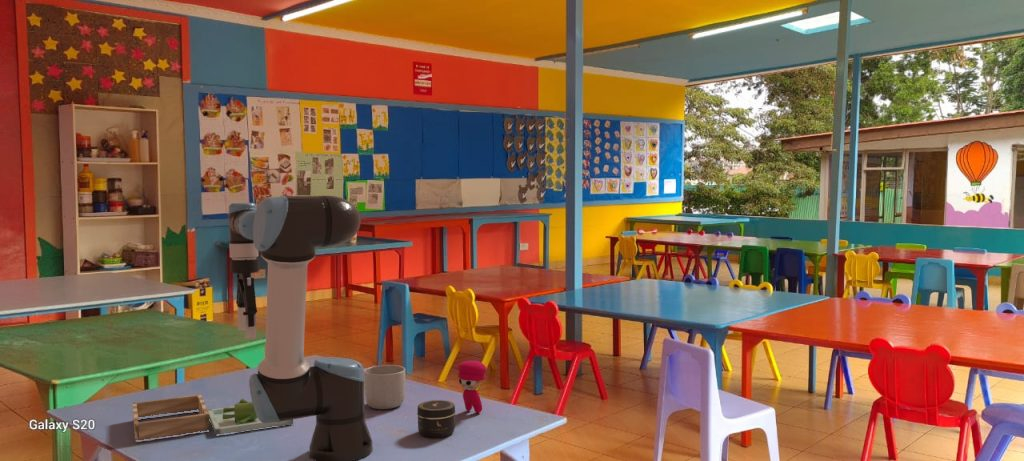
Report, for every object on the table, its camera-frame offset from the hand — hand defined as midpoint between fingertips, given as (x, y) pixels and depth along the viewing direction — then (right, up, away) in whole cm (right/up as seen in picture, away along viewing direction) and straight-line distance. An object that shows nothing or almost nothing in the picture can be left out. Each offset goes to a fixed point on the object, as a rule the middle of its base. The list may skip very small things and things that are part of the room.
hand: (247, 334), depth 212 cm
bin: (-20, -25, -2) cm, 32 cm away
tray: (0, -25, +2) cm, 25 cm away
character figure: (0, -24, -1) cm, 24 cm away
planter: (+36, -24, +15) cm, 46 cm away
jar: (+54, -25, -11) cm, 60 cm away
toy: (+63, -24, +7) cm, 67 cm away
